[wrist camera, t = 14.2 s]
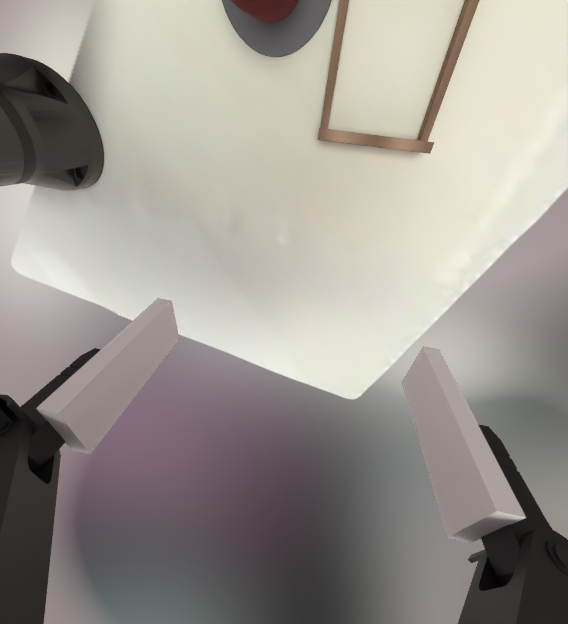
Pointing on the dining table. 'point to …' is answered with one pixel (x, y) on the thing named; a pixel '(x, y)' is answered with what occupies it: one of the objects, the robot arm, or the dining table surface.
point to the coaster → (279, 27)
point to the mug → (267, 9)
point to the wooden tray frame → (435, 102)
